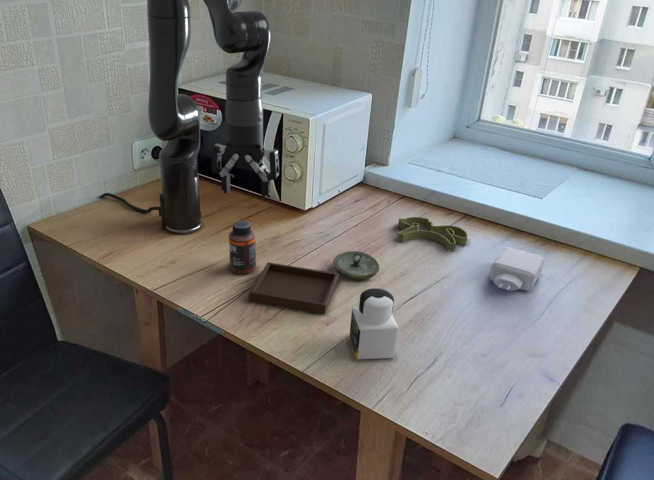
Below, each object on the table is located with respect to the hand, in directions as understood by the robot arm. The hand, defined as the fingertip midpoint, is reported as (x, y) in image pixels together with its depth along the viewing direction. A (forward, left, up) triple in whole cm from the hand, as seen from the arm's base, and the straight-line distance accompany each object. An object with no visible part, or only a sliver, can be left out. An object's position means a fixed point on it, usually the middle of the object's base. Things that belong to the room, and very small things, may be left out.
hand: (245, 194), depth 131 cm
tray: (+13, -7, -18) cm, 24 cm away
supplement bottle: (-1, -1, -18) cm, 18 cm away
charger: (+58, +11, -18) cm, 62 cm away
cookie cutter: (+39, +29, -18) cm, 52 cm away
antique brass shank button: (+24, +6, -18) cm, 31 cm away
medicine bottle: (+32, -22, -18) cm, 43 cm away
